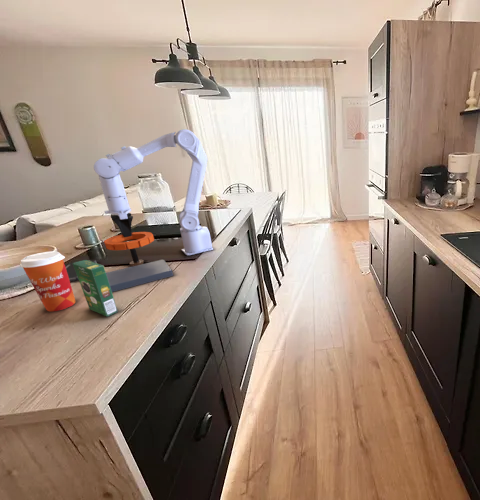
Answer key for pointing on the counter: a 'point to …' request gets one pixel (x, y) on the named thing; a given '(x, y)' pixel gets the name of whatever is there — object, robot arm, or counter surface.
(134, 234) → the orange ring
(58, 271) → the paper cup
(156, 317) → the counter surface
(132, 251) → the hook post
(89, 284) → the coffee box
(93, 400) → the counter surface
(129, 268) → the blue-grey rectangular slab
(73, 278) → the phone
